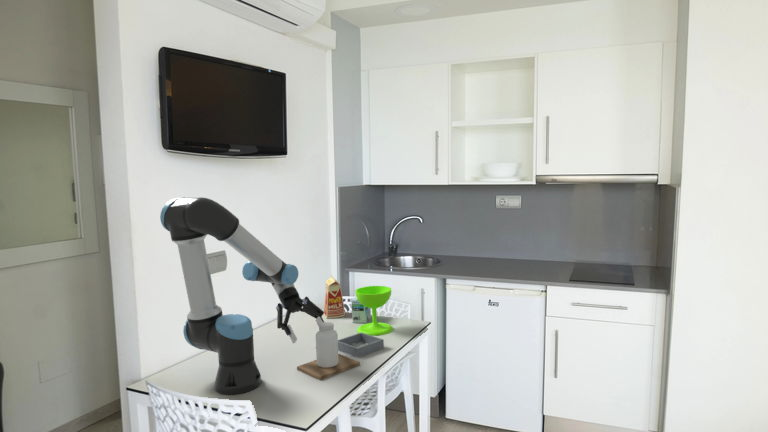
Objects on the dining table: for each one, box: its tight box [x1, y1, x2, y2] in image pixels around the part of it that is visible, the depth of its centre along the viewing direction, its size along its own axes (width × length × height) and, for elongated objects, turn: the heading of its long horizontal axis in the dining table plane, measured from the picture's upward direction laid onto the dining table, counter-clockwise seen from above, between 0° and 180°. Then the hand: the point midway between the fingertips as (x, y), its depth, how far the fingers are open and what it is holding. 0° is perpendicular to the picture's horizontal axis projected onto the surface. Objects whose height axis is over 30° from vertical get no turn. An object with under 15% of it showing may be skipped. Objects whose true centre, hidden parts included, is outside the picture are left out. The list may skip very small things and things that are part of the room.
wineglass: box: [354, 285, 394, 337], centre depth 228 cm, size 16×16×18 cm
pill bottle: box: [315, 321, 339, 368], centre depth 187 cm, size 8×8×15 cm
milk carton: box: [323, 274, 346, 319], centre depth 253 cm, size 9×9×20 cm
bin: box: [338, 332, 385, 359], centre depth 206 cm, size 14×14×4 cm
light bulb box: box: [351, 296, 372, 324], centre depth 244 cm, size 11×7×11 cm, turn 168°
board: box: [296, 353, 361, 381], centre depth 188 cm, size 18×14×1 cm
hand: (310, 336), depth 195 cm, fingers open, 13 cm apart
